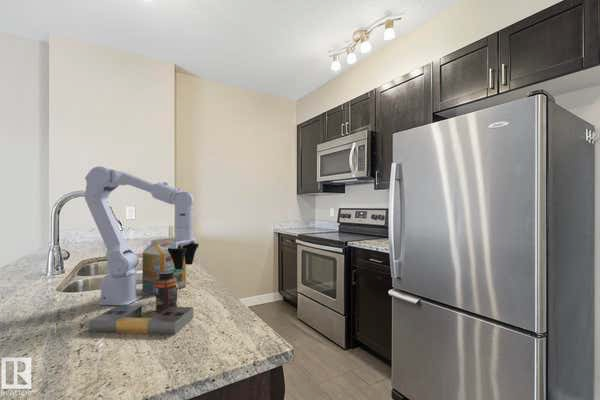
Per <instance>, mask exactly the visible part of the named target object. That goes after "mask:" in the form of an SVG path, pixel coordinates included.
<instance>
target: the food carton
mask: <svg viewBox="0 0 600 400" xmlns="http://www.w3.org/2000/svg"><path fill="white" fill-rule="evenodd" d="M174 240H175V236H173V237H164V238H158V239H157V238H156V239H151V240H150V244H149V245H147V246H146V247H145V248H144V249H143V251H142V280H141V281H142V284H141V285H142V286H141V288H142V290H143V291H142V290H141V291H142V292H145V291H146V292H147V293H149V292H150V294H153V293H154V295H156V281H157V280H158V279H159V278H160V277H159V273H160V272H162V271H174V277H175V278H176V279H177V291H178V289H179V290H181V289H186V287H187V284H186V283H187V282H186V281H187V280H186V279H187V277H186V276H187V275H186V272H187V271H186V270H187V269H186V268H187V267H186V266H187V265H186V263H185V255H184V261H183V268H182V269H175V267H174V263H173V259H172V257H171V255H170V253H169V252H168V248H170V243H171V242H173V241H174ZM181 248H182V246H181Z"/></svg>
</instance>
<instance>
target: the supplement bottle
mask: <svg viewBox="0 0 600 400" xmlns="http://www.w3.org/2000/svg"><path fill="white" fill-rule="evenodd" d="M159 277H160V278H159V279H158V280H157V281H156V294H155V311H156V312H158V313H161V312H162V311H163V310H165V309H166V308H168V307H178V290H177V279H176V278H175V277H174V271H162V272H160V273H159Z"/></svg>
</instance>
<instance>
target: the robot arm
mask: <svg viewBox="0 0 600 400" xmlns="http://www.w3.org/2000/svg"><path fill="white" fill-rule="evenodd" d="M84 179H85V182H86V184H85V185H86V186H85V193H84V201H85V202H86V205H87V207H88V209H89V211H90V213H91V216H92V218H93V221H94V222H95V225H96V226H97V229H98V232H99V234H100V236H101V238H102V240H103V242H104V246H105V247H106V253H105V259H106V262H107V264H106V269H107V271H108V274H106V275H105V276H104V277H103V278H102V280H101V282H100V302H98V305H99V306H100V305H101V306H129V305H130V304H132V303H134V302H136V301H138V300H140V299H141V298H143V296H142V295H137V270H136V267H137V266H138V265H139V262H140V259H139V256H138V254H137V253H136V252H134V251H133V250H132V247H131V246H130V245H129V244H128V243H126V241H125V239H124V237H123V233H122V231H121V230H120V227H119V225H118V223H117V220H116V218H115V216H114V214H113V212H112V210H111V207H110V205H109V202H108V198H109V196H110V195H111V193H112V192H113V191H114V190H115V189H117V188H118V187H119V186H127V185H128V186H131V187H133V188H135V189H139V190H143V191H146V192H148V193H150V195H151V196H152V198H153V199H155V200H159V201H160V202H164V203H165V204H166V203H167V204H170V205H171V206H172V205H174V207H175V215H174V237H175V240H174V241H173V242H171V243H170V248H168V252H169V253H170V255H171V257H172V259H173V263H174V267H175V269H182V268H183V261H184V255H185V263H186V266H187V265H189V266H190V265H193V262H194V259H195V254H196V251H197V249H198V248H199V243H197V237H196V236H195V237H194V213H193V211H194V208H193V205H194V204H195V203H194V202H195V197H194V196H193V195H192V193H191V192H188V191H183V189H182V188H180V187H179V188H176V187H174V186H171V185H169V182H166V181H163V182H157V183H153V182H150V181H148V180H146V179H143V178H140V177H137V176H135V175H133V174H131V173H127V172H124V171H120V170H116V169H112V168H106V167H104V166H99V165H98V166H95V167H93V168H91V169H90V170H89V171H88V173H87V174H86V176H85V177H84ZM181 246H182V248H181Z"/></svg>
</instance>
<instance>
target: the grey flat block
mask: <svg viewBox="0 0 600 400" xmlns="http://www.w3.org/2000/svg"><path fill="white" fill-rule="evenodd" d="M142 308H143V307H142V306H141V305H115V306H114V307H113V308H110V309H108V310H107V311H105V312H103V313H100V314H98V315H97V316H95V317H92V318H90V319H89V331H88V332H89V333H107V334H109V333H110V334H140V335H141V334H142V335H143V334H145V335H147V334H148V335H176V334H178V332H180V331H181V330H182V329H183V328H184V327H186V325H187V324H189V322H190V321H191V320H193V319H194V307H193V306H177V307H168V308H166V309H165V310H163V311H162V312H158V314H156V315H154V316H153V317H142V316H143V315H142V314H143V313H142V312H143V311H142V310H143V309H142Z"/></svg>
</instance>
